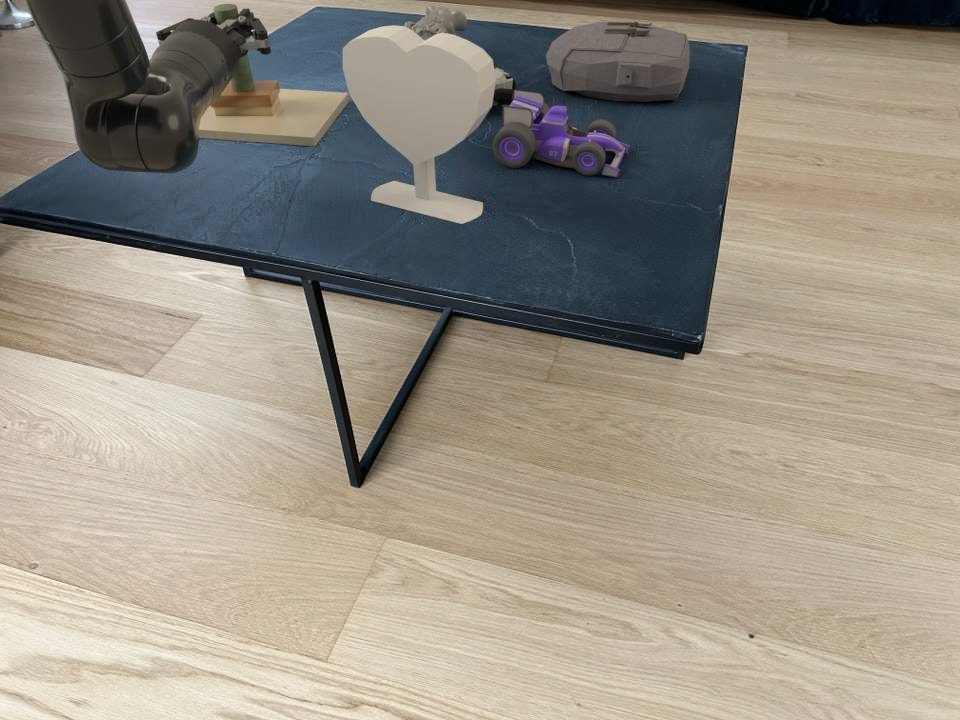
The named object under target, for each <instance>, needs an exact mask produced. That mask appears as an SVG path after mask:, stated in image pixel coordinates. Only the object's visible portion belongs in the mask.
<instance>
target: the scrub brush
mask: <svg viewBox="0 0 960 720" xmlns="http://www.w3.org/2000/svg"><path fill="white" fill-rule="evenodd" d="M213 12H214V13H215V17H216V21H217V25H221V24H222V23H223V22H225V21H226V20H227V19H235V18H236V17H237V16H238V15H239V9H238V5H236V4H235V3H221V4H218V5H216V6H214V7H213ZM250 65H251V64H250V60H249V56H248V54H247V55H246V56H244V57H242V58H240V59H239V63H238V67H237V70H236V73H235V75H234V76H233V78H232V79H231V81H230V82H229V83H228V85H227V86H226V88H225V89H224V90H223V92H222V93H221V95H220V96H219V98H218V99H217V100H216V101H215V102H214V103H213V104H212V105H211V107H212V108H214V111H215V115H216V116H233V115H273V113H274V111H275V109H276V107H277V106H278V104H279V102H280V99H279V93H280V89H281V88H280V85H279V80H277V79H275V80H274V79H273V80H272V79H267V80H261V79H260V80H258V79H257V80H254V78H253V73H252V68H251V66H250Z"/></svg>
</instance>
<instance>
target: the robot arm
mask: <svg viewBox="0 0 960 720" xmlns="http://www.w3.org/2000/svg"><path fill="white" fill-rule="evenodd" d="M24 1H25V5H26V7H27V10H28V13H29V15H30V17H31V19H32V21H33V23H34V25H35V27H36V29H37V30H38V33H39V35H40V37H41V38H42V41H43V42H44V44H45V46H46V47H47V49H48V51H49V53H50V55H51V56H52V59H53V60H54V62H55V64H56V66H57V68H58V69H59V71H60V73H61V76H62V79H63V84H64V87H65V91H66V95H67V99H68V104H69V108H70V113H71V119H72V125H73V126H72V127H73V132H74V137H75V142H76V144H77V146H78V148H79V150H80V152H81V153H82V154H83V155H84V156H85V158H86V159H87V160H89V162H91V163H93V164H94V165H95V166H97V167H99V168H102V169H103V170H107V171H115V172H133V173H134V172H137V173H151V174H153V173H155V174H177V173H180V172H182V171H184V170H185V169H188V168H189V167H190V166H192V165H193V163H194V162H195V161H196V159H197V157H198V152H199V143H200V142H199V140H200V138H199V134H198V132H199V126H200V120H201V117H202V116H203V114H204V113H205V112H206V110H207V109H208V107H209V106H211V105H212V104H213V103H214V102H215V101H216V100H217V99H218V98H219V96H220V95H221V93H222V92H223V90H224V89H225V88H226V86H227V85H228V83H229V82H230V81H231V79H232V78H233V76H234V75H235V73H236V70H237V67H238V63H239V59H240V58H242V57H244V56H246V55H248V54H249V51H251V50H254V52H259V53H260V55H266V56H267V55H270V54H272V49H271V44H270V40H269V33H268V30H267V29H266V27H265V25H264V24H263V23H262V21H261V19H260V18H258V17H255V14H254V12H253V11H252V12H251V9H250V8H242V9H241V10H240V12H238V14H239V15H238V16H237V17H236V18H235V19H227V20H226V21H225V22H223V23H222V24H221V25H217V21H216V17H215V13H214V11H212V12H211V13H210V14H209V15H205V16H204V15H203V17H200V18H199V19H195V18H193V17H188V18H186V19H183V20H181V21H179V22H176V23H174V24H172V25H169V26H167V27H165V28H162V29H159V30H158V31H156V32H155V34H156V38H157V43H158V46H157V48H156V49H155V50H154V51H153V53H152V54H151V57H150V58H149V54H148V52H147V49H146V46H145V43H144V42H143V39H142V36H141V35H140V32H139V30H138V27H137V25H136V22H135V20H134V18H133V14H132V13H131V10H130V8H129V4H128V2H127V0H24Z"/></svg>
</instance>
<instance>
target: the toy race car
mask: <svg viewBox="0 0 960 720" xmlns="http://www.w3.org/2000/svg"><path fill="white" fill-rule="evenodd" d="M513 94H514V99H513V100H512V103H511V104H510V105H507V104H502V110H501V111H502V117H501V118H502V119H501V120H502V127H500V130H499V131H498V132H497V133H496V134H495V136H494V138H493V140H492V148H491V149H492V153H493V156H494V157H495V158H496V159H497V161H498V162H499V163H500V164H501V165H502V166H505V167H507V168H511V169H518V168H522V167H524V166H525V165H526V164H528V162H529V161H530V160H531V158H532V159H534V160H537V161H540V162H544V163H547V164H551V165H554V166H557V167H562V168H569V169H574V170H575V171H576V172H577V173H579V174H580V175H582V176H588V177H591V176H595V175H597V174H599V172H600V171H601V170H602V171H601V175H602V176H606V177H612V178H619V175H620V170H621V169H620V168H619V166H620V164H621V163H622V160H623V158H624V156H625V154H629V153H630V151H631V150H630V149H631V144H630V145H629V144H627V143H624V142H622V141H619V140H618V139H617V135H618V133H617V129H616V127H615V126H614V124H613V123H612V122H610V121H609V120H607V119H596V120H593V121H592V122H591V123H590V124H589V125H588V127H587V129H586V131H584V130H579V129H578V128H577V127H574V126H572V125H570V123H569V115H568V107H567V106H565V105H553V106H551V107H549V105H548V104H547V103H546V102H545V97H544V95H543V94H542V93H541V92H536V91H535V92H534V91H526V90H518V89H514V90H513ZM607 152H613V153H614V154H615V156H614V158H613V160H612V162H611V163H610V164H607V163H605V162H606V158H607V157H606V155H607Z"/></svg>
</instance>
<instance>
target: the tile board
mask: <svg viewBox="0 0 960 720" xmlns="http://www.w3.org/2000/svg"><path fill="white" fill-rule="evenodd" d="M279 89H280V93H279V99H280V102H279V104H278V106H277V107H276V109H275V111H274V113H273V115H233V116H216V115H215V111H214V108H212V107H211V106H209V107H208V109H207V110H206V112H205V113H204V114H203V116H202V117H201V120H200V126H199V132H198V134H199V139H206V140H207V139H209V140H223V141H235V142H248V143H249V142H251V143H262V144H263V143H264V144H275V145H290V146H291V145H292V146H303V147H316V146H317V145H318V143H319V142H321V139H322V138H323V137H324V135H326V133H327V132H328V130H329V129H330V128H331V126H332V125H333V124H334V122H336V119H337V118H338V117H339V116H340V114H341V113H342V112H343V110H344V109H345V108H346V107H347V105H348V104H349V102H350V94H349V92H340V91H326V90H325V91H322V90H310V89H309V90H307V89H306V90H305V89H293V88H292V89H291V88H279Z"/></svg>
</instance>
